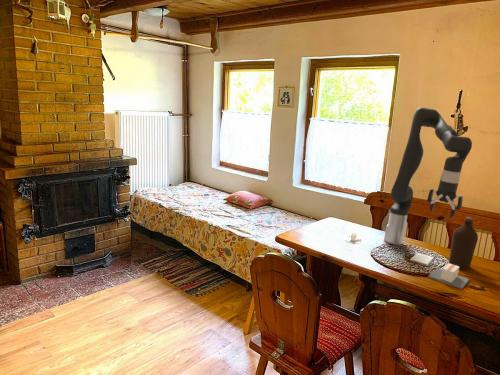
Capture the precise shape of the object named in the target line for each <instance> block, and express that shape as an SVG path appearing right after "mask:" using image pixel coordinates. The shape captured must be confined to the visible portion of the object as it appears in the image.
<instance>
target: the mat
mask: <svg viewBox="0 0 500 375" xmlns="http://www.w3.org/2000/svg"><path fill="white" fill-rule="evenodd" d="M441 274H442V269H439V268H436V269H434V270H433V271H432V272H431V273H430V274H429V275H428V278H429V279H431V280H435V281H438V282H440V283H442V284H445V285H448V286H451V287H454V288H457V289H460V290H463V289H464V288H465V287H466V285H467V284H468V283H469V281H470V279H469V278H467V277H464V276H460V275H457V277H456V278H455V279H454V280H453V281H452V282H448V281H446V280H443V279H441Z"/></svg>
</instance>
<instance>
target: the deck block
mask: <svg viewBox="0 0 500 375" xmlns="http://www.w3.org/2000/svg"><path fill="white" fill-rule="evenodd" d="M441 270H442V274H441V279H443V280H446V281H448V282H452V281H453V280H454V279H455V278H456V277H457V275H458V274H459V272H460V271H459V270H460V268H459V266H456V265H453V264H450V263H449V262H448V263H447V264H446V265H445V266H444V267H443V268H442V269H441ZM458 276H459V275H458Z"/></svg>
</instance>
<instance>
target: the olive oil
mask: <svg viewBox="0 0 500 375" xmlns="http://www.w3.org/2000/svg"><path fill="white" fill-rule="evenodd" d="M473 222H474V218H473V217H471V216H465V219H464V223H463V224H462V225H461V226H458V227H457V228H455V230H454V231H453V234H452V240H451V245H450V246H451V247H450V254H449V259H448V263H450V264H453V265H456V266H459V270H469V269H470V268H471V265H472V260H473V257H474V254H475V251H476V247H477V243H478V239H479V236H478V233H477V231H476V230H475V228H474V227H473Z"/></svg>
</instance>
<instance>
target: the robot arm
mask: <svg viewBox="0 0 500 375" xmlns="http://www.w3.org/2000/svg"><path fill="white" fill-rule="evenodd" d="M410 126H411V127H410V130H409V135H408V139H407V143H406V146H405V149H404V152H403V156H402V159H401V163H400V166H399V169H398V172H397V173H398V174H397V176H396V179H395V181H394V184H393V185H392V188H391V192H390V198H391V199H392V201H393V204H392V205H391V207H390V209H389V215H388V216H389V217H388V222H387V224H386V226H385V231H384V238H383V241H384V242H386V243H388V244H391V245H396V246H400V245H402V244H403V242H404V237H405V232H406V225H407V220H408V214H409V212H410V209H411V206H412V203H413V196H414V191H413V190H414V189H413V188H412V186H410V183H411V180H412V178H413V176H414V174H416V172H417V170H418V168H419V167H420V164H421V163H422V160H423V156H424V148H423V144H422V141H421V136H420V135H421V129H422V127H424V128H431V129H434V134H435V136H436V137H437V138H438V139H439V140H440V141H441V142H442V144H443V146H444V149H445V150H446V151H448V152H450V153H455V155H453V156H448V157H446V158H445V161H444V165H443V169H442V172H441V174H440V176H439V177H440V179H439V184H438V187H437V190H436V189H433V188H430V190H429V192H428V196H427V198H426V201H427V202H429V203H430V205H429V211H430V213H432V212H434V210H435V205H436V204H435V203H436V202H438V201H440V202H444V203H446V204H449V205H450V207H451V210H450V212H449V213H450V214H449V217H450V218H453V217H454V216H455V214H456V211H457V210H460V209H462V207H463V206H462V205H463V201H464V196H463V195H457V191H458V187H459V182H460V178H461V172H462V170H463V169H462V168H463V164H464V162H465V161H466V159H467V157H468V155H469V153H470V152H471V150H472V146H473V141H472V139H471V138H470V137H468V136H459V134H458V132H457V131H456V130H455V129H454V128H452V127H451V126H450V125H449V124H448V123H447V122H446V121H445V119H444V118H443V117H442V115H441V114H440V112H438V110H436V109H434V108H429V107H422V106H421V107H420V106H419V107H418V108H417V109H416V110H415V112H414V113H413V116H412V121H411V125H410ZM435 194H436V197H435V198H433V196H434V195H435ZM432 198H433V199H432ZM455 199H456V200H457V204H456V202H455V201H454V200H455Z"/></svg>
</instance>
